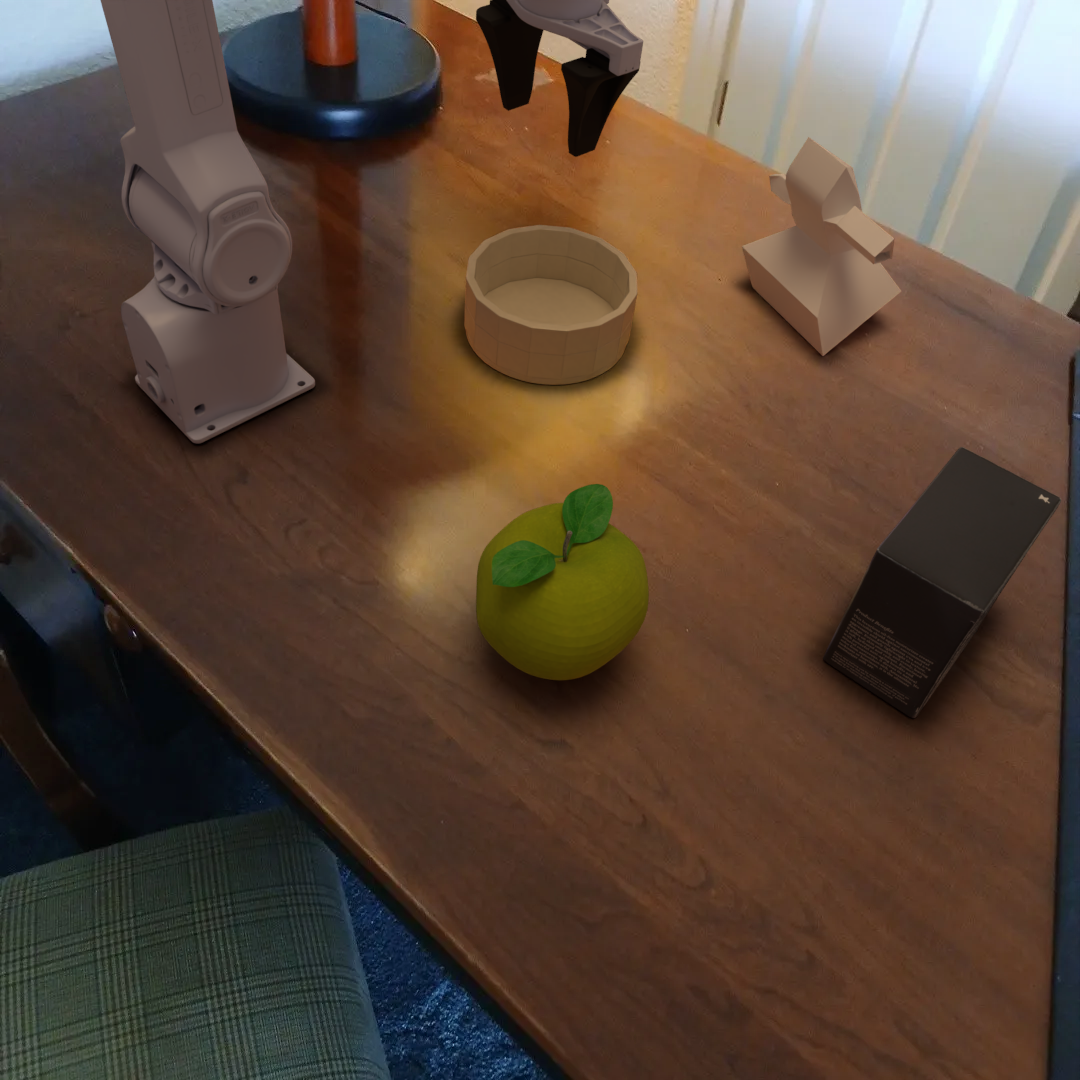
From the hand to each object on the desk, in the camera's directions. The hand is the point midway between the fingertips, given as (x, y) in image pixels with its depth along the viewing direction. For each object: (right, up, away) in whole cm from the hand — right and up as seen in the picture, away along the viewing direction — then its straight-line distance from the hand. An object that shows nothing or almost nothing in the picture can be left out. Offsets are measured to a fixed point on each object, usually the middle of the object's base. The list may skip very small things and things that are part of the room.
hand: (548, 127), depth 78 cm
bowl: (0, -15, +1) cm, 15 cm away
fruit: (0, -37, -17) cm, 41 cm away
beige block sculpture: (+21, -12, +5) cm, 24 cm away
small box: (+21, -36, -15) cm, 45 cm away
